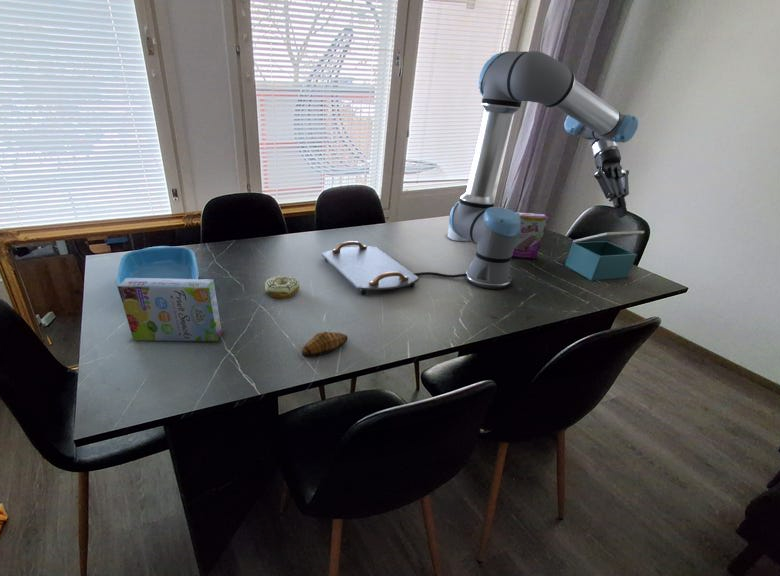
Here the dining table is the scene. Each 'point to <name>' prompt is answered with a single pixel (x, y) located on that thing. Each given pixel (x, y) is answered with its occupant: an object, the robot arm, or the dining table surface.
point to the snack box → (171, 309)
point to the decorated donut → (281, 286)
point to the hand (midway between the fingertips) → (622, 215)
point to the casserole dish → (158, 264)
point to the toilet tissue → (455, 235)
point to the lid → (608, 236)
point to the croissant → (324, 343)
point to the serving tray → (369, 267)
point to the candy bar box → (529, 235)
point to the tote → (600, 260)
